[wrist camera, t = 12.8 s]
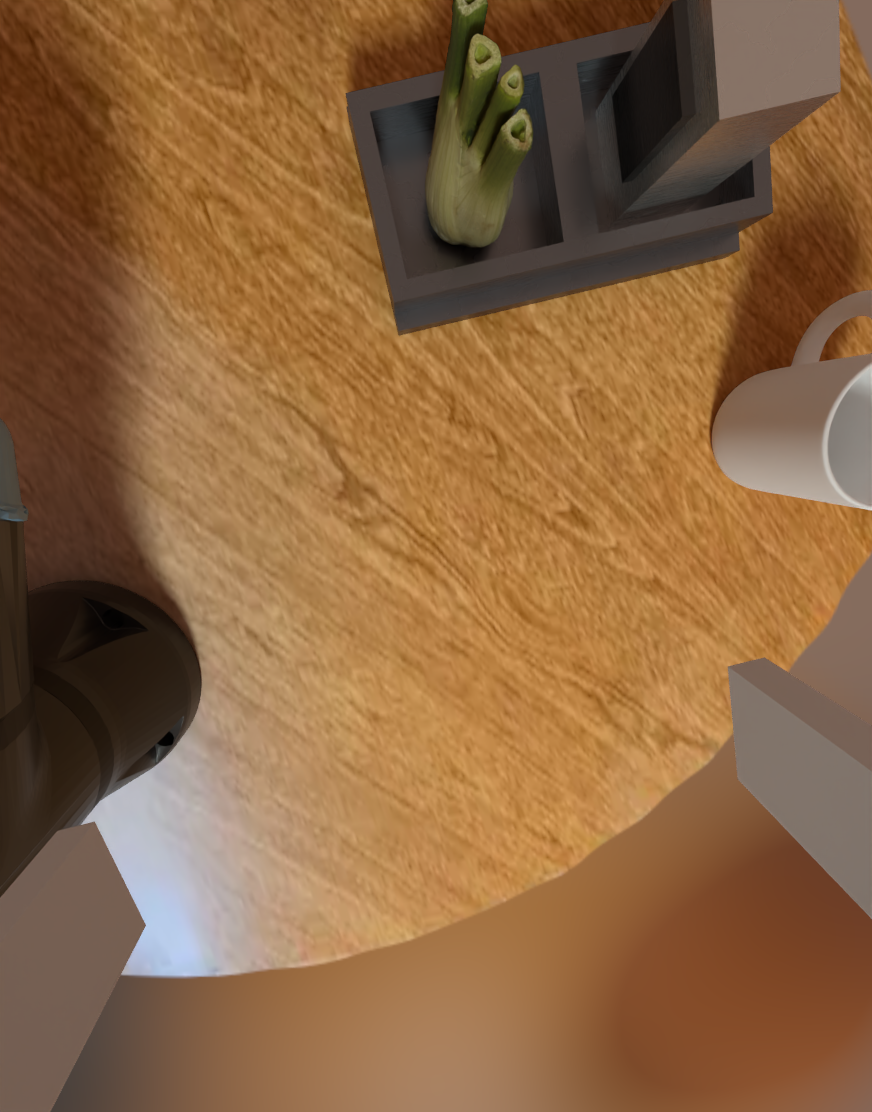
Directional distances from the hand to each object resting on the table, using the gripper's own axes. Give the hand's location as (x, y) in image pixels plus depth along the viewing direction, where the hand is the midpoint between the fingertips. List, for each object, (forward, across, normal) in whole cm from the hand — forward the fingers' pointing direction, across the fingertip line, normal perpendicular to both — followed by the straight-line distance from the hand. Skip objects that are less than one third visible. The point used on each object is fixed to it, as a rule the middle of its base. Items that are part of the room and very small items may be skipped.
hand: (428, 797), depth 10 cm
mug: (+27, +27, +3) cm, 38 cm away
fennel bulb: (+25, +8, +19) cm, 33 cm away
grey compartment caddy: (+27, +14, +19) cm, 35 cm away
